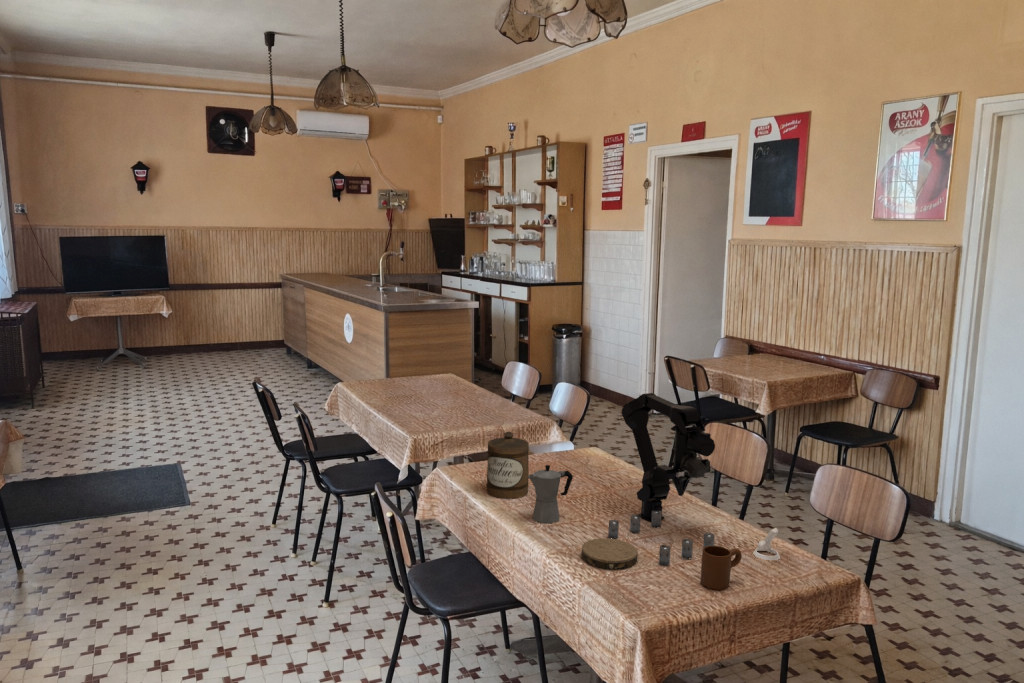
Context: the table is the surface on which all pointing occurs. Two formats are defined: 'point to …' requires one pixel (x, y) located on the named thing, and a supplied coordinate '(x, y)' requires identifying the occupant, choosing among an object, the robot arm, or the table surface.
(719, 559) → the mug
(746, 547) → the table surface
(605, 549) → the brown wooden disc
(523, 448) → the wooden container
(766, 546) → the hook
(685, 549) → the grey metal cylinder set
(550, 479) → the coffeepot
